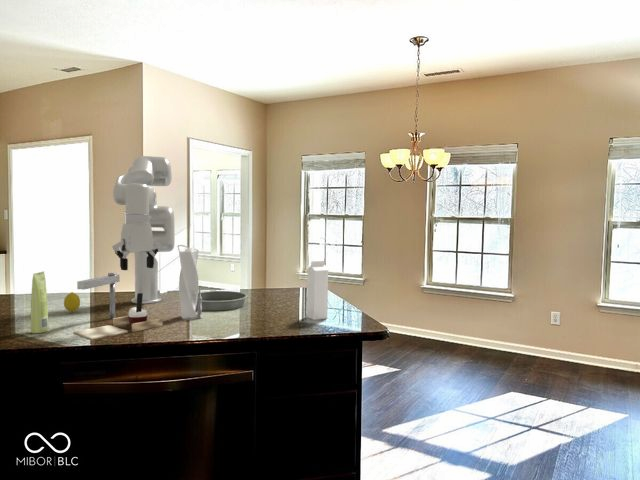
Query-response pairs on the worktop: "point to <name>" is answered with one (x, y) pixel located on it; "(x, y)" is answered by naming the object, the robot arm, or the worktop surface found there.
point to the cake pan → (221, 300)
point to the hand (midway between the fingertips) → (137, 268)
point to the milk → (317, 290)
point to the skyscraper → (189, 285)
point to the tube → (39, 304)
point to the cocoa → (137, 312)
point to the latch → (100, 281)
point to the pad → (100, 332)
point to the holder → (138, 325)
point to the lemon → (72, 302)
